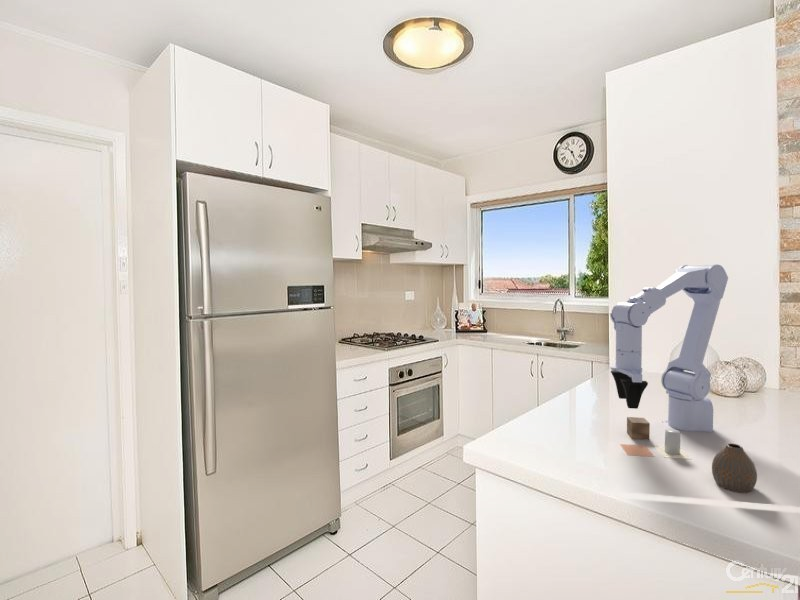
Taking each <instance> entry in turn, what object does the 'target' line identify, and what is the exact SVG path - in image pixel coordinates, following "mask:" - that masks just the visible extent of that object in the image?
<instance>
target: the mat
mask: <svg viewBox="0 0 800 600" xmlns="http://www.w3.org/2000/svg"><path fill="white" fill-rule="evenodd" d="M619 445H620V447H622V449H623V450H624V452H625V453H626V455H627V456H633V457H634V456H636V457H637V456H638V457H639V456H640V457H651V458H652V457H653V458H654V457H655V455H653V453H652V452H651V450H650V449H648V447H647V446H646V445H644V444H641V445H639V444H627V443H626V444H624V443H620V444H619ZM654 448H655V449H656V450H657V451H658V452H659V454H660V455H661V456H662V458H668V459H684V460H692V457H690V456H689V455H688V454H687V452H685V451H684V450H683V449H682V448H681V447H680V455H671V454H668V453H666V452H665V446H659V445H657V446H656V445H654Z"/></svg>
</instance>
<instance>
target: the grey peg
mask: <svg viewBox="0 0 800 600" xmlns="http://www.w3.org/2000/svg"><path fill="white" fill-rule="evenodd" d="M681 436H682V435H681V430H680V431H679V429H676V428H666V429H664V447H665V452H666V453H668V454H671V455H680V448H681Z"/></svg>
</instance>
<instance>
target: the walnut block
mask: <svg viewBox="0 0 800 600" xmlns="http://www.w3.org/2000/svg"><path fill="white" fill-rule="evenodd" d="M650 425H651V424H650V422H649V421H648V420H647V419H646V418H645V417H635V416H626V433H627V435H629V437H630V439H631V440H650V433H651V432H650V431H651V430H650V428H651V427H650Z"/></svg>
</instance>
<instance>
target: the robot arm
mask: <svg viewBox="0 0 800 600" xmlns="http://www.w3.org/2000/svg"><path fill="white" fill-rule="evenodd" d="M728 281H729V276H728V274H727V272H726V270H725V268H724V267H723V266H722V265H720V264H710V265H708V264H705V265H688V264H684V265H681V266H680V267H679V268H676V269H674V273H673V274H672V275H671V276H670V277H668V278H667V279H666V280H665V281H662V282H661V284H659V285H658V286H657V287H655V286H645V287H643V288H642V289H641V290H642V291H641V292H639V293H637V294H636V295H635V296H631V297H629V298H628V300H626V301H620V302H618V303H617V304H615V305H614V306H613V307H612V310H611V312H610V313H609V314H610V315H609V316H610V320H611V322H612V323H613V329H614V331H615V365H610V373H611V374H612V377H613V379H614V382H615V386H616V392H617V396H618V399H622V400H623V399H624V400H625V402H626V405H627V408H628V409H633V410H634V409H635V410H636V409H639V406H640V403H641V398H642V397H643V396H642V395H643V394H644V392H645V389H646V388H647V387H648V385H649V382H648V381H647V380H643V374H642V373H643V367H642V360H643V359H642V353H643V351H642V350H643V347H642V346H643V340H642V339H643V329H642V328H643V326H645V325H646V323H647V322H648V319H649V317H651V315H652V314H653V313H655V312H657V311H658V310H659V309H661V308H662V307H664V306H665V305H666V302H667V298H670V297H671V296H674V295H675V294H677V293H679V292H680V291H682V292H684V293H685V294H686V295H687V297H689V298H691V299H692V300H693V301H694V304H693V308H692V312H691V314H690V318H689V322H688V324H687V328H686V331H685V336H684V339H683V342H682V345H681V348H680V353H679V354H678V357H677V358H675V359H673V360H672V361H671V360H670V361H669V362H668V365H667V366H666V369H665V370H664V372H662V374H661V380H660V381H661V385H662V387H663V389H664V390H666V391H665V393H666V394H668V405H667V406H668V413H667V415H668V416H667V419H668V420H661V421H662V422H661V423H665V424H667V425H668V426H670V427H671V428H672V429H675V430H678V431H679V430H680V431H687V432H714V406H713V402H712V400H711V399H710V398H709V397H707V396H708V395H709V393H710V390H711V376H712V372H711V371H710V370H709V369H708V368H707V367H706V366H705V365H704V359H705V356H706V352H707V349H708V346H709V342H710V339H711V336H712V332H713V327H714V325H715V321H716V318H717V316H718V315H717V314H718V312H719V307H720V304H721V300H723V298H724V294H725V291H726V287H727V284H728Z"/></svg>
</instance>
